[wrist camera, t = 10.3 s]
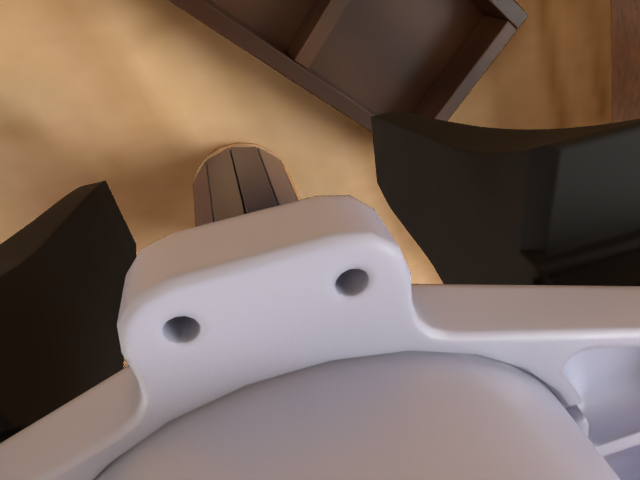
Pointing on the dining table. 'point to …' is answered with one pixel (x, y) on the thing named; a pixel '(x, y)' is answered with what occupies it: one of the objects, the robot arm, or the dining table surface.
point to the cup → (240, 183)
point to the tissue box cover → (625, 60)
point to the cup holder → (370, 47)
